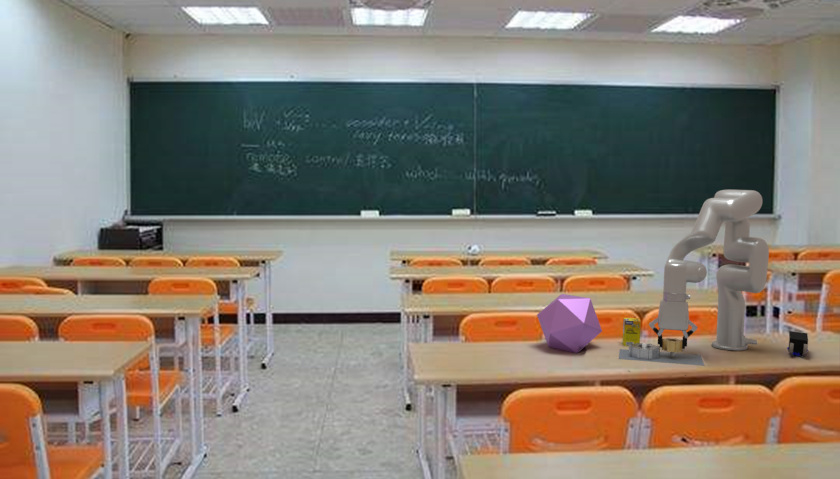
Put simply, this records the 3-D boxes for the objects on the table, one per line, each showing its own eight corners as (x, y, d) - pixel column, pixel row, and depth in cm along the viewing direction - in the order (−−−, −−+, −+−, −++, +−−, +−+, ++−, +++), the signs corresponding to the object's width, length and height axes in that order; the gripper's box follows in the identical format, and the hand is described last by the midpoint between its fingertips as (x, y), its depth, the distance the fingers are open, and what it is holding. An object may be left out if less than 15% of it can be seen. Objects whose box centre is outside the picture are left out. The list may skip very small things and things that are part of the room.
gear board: (700, 358, 259) (701, 342, 259) (704, 369, 245) (705, 352, 245) (619, 352, 267) (620, 337, 267) (618, 362, 253) (619, 346, 252)
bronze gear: (681, 348, 258) (682, 338, 258) (682, 352, 252) (683, 343, 251) (661, 346, 260) (661, 337, 260) (661, 351, 254) (662, 341, 253)
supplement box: (640, 350, 271) (641, 321, 270) (623, 349, 272) (624, 320, 271) (638, 346, 277) (639, 318, 276) (622, 345, 278) (623, 317, 277)
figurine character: (808, 364, 259) (806, 350, 272) (810, 343, 257) (808, 330, 271) (787, 362, 262) (786, 348, 275) (788, 341, 260) (787, 329, 274)
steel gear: (658, 353, 261) (659, 344, 260) (659, 360, 251) (660, 350, 250) (628, 351, 264) (629, 342, 263) (628, 358, 254) (628, 348, 253)
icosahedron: (615, 339, 259) (597, 279, 272) (561, 342, 254) (545, 280, 267) (591, 363, 277) (575, 306, 290) (540, 366, 272) (526, 307, 285)
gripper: (699, 297, 256) (697, 347, 257) (648, 294, 261) (646, 343, 262) (701, 300, 248) (699, 352, 250) (648, 297, 253) (646, 347, 255)
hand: (672, 347), depth 256 cm, fingers closed on bronze gear, 7 cm apart
